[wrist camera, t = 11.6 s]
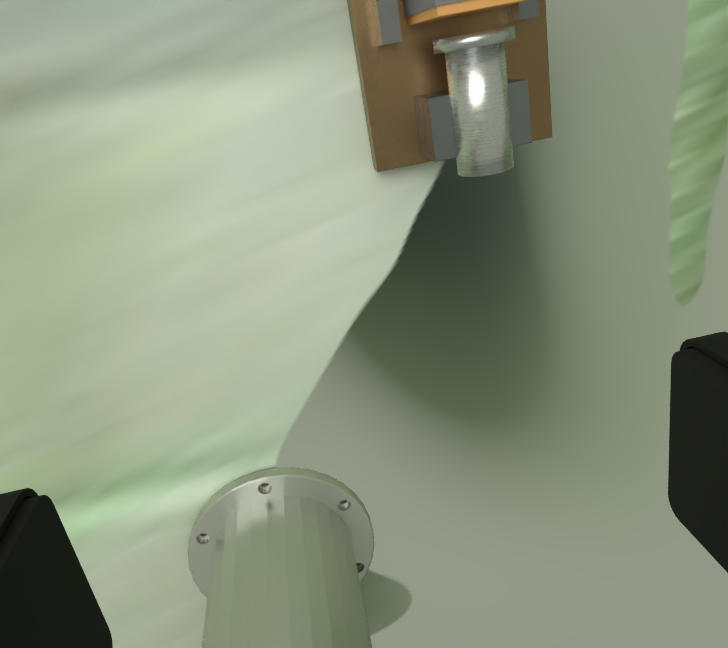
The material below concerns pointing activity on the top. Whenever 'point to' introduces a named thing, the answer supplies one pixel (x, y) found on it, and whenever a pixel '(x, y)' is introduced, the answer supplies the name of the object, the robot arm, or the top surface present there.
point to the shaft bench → (452, 84)
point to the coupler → (448, 8)
